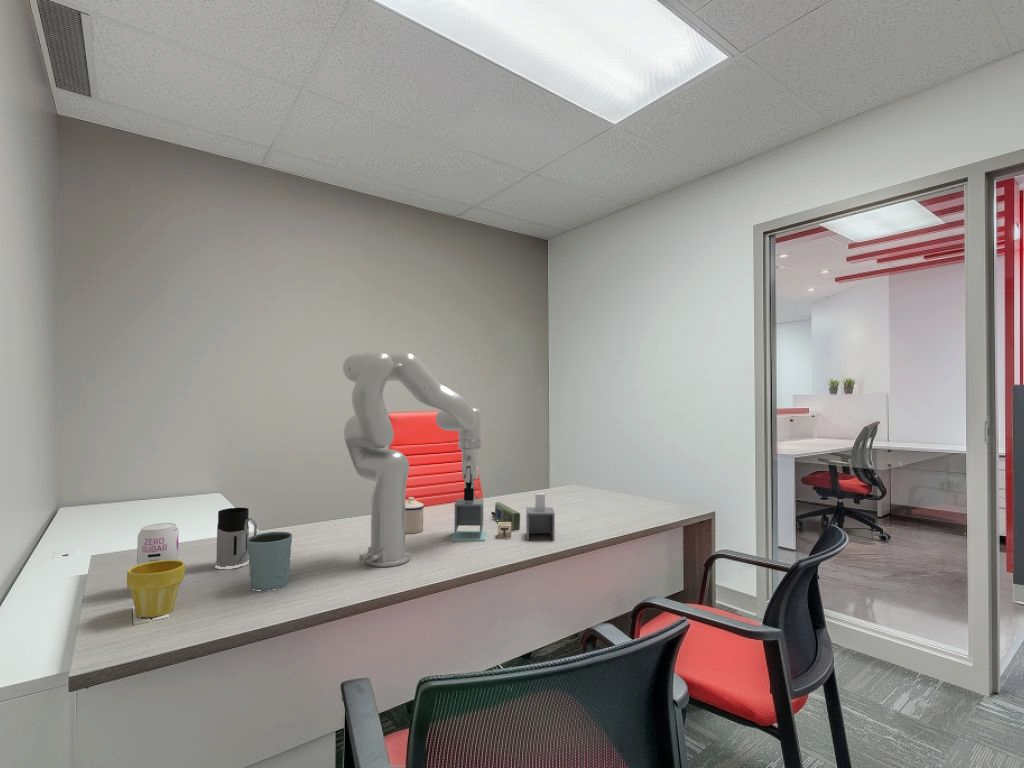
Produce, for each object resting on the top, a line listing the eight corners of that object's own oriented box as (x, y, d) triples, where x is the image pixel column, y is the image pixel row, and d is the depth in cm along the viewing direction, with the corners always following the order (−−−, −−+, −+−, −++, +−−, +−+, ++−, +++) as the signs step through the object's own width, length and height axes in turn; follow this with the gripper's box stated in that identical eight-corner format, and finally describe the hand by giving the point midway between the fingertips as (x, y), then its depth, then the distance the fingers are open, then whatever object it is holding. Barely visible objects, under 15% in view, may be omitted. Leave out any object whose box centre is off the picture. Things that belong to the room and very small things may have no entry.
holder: (237, 557, 149) (238, 505, 150) (269, 565, 143) (270, 511, 143) (207, 566, 142) (208, 511, 142) (239, 575, 135) (241, 517, 135)
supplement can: (170, 580, 131) (171, 520, 131) (182, 587, 126) (183, 526, 126) (131, 589, 125) (133, 526, 125) (142, 597, 119) (144, 532, 120)
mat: (484, 541, 168) (484, 539, 168) (450, 541, 168) (450, 539, 168) (486, 532, 179) (486, 530, 179) (454, 532, 179) (454, 530, 179)
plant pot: (175, 598, 119) (176, 556, 119) (190, 611, 112) (191, 565, 112) (120, 612, 111) (121, 566, 111) (132, 626, 104) (134, 578, 105)
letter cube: (511, 539, 171) (511, 525, 171) (497, 539, 171) (497, 525, 171) (511, 535, 176) (511, 522, 176) (498, 535, 176) (498, 522, 176)
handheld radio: (512, 532, 181) (488, 516, 204) (520, 531, 182) (496, 516, 205) (512, 512, 181) (489, 499, 204) (521, 512, 182) (496, 499, 205)
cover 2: (554, 540, 169) (554, 496, 170) (527, 540, 169) (527, 496, 169) (552, 533, 178) (552, 491, 178) (526, 533, 178) (526, 491, 178)
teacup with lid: (428, 531, 180) (428, 498, 180) (404, 535, 174) (405, 501, 175) (412, 524, 189) (412, 492, 190) (389, 528, 184) (389, 495, 184)
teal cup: (297, 585, 127) (298, 537, 128) (253, 596, 121) (254, 544, 121) (282, 575, 135) (283, 529, 135) (240, 584, 128) (241, 536, 128)
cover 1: (481, 531, 169) (482, 487, 170) (454, 531, 169) (454, 487, 170) (483, 525, 178) (483, 483, 179) (457, 525, 178) (457, 483, 179)
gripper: (479, 447, 166) (478, 504, 166) (482, 442, 183) (481, 494, 182) (456, 446, 166) (455, 504, 166) (460, 442, 183) (460, 494, 182)
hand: (469, 498), depth 174 cm, fingers closed on cover 1, 3 cm apart
